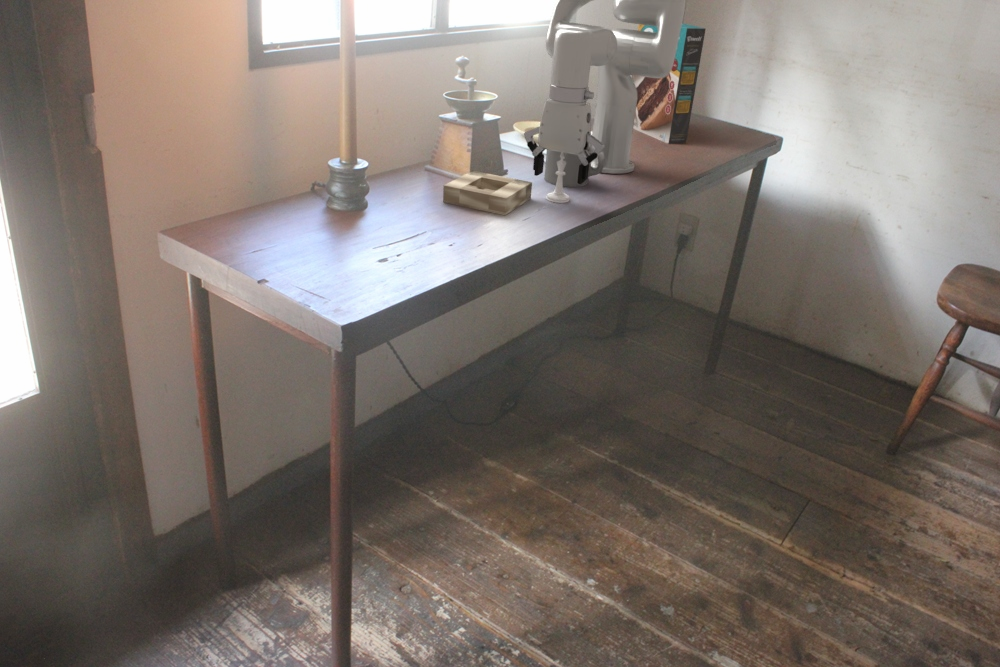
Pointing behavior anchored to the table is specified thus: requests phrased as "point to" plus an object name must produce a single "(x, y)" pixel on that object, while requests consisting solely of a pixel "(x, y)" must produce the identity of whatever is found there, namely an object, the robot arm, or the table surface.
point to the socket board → (487, 192)
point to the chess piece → (559, 184)
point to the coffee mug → (569, 167)
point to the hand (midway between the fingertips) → (559, 178)
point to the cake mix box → (670, 90)
